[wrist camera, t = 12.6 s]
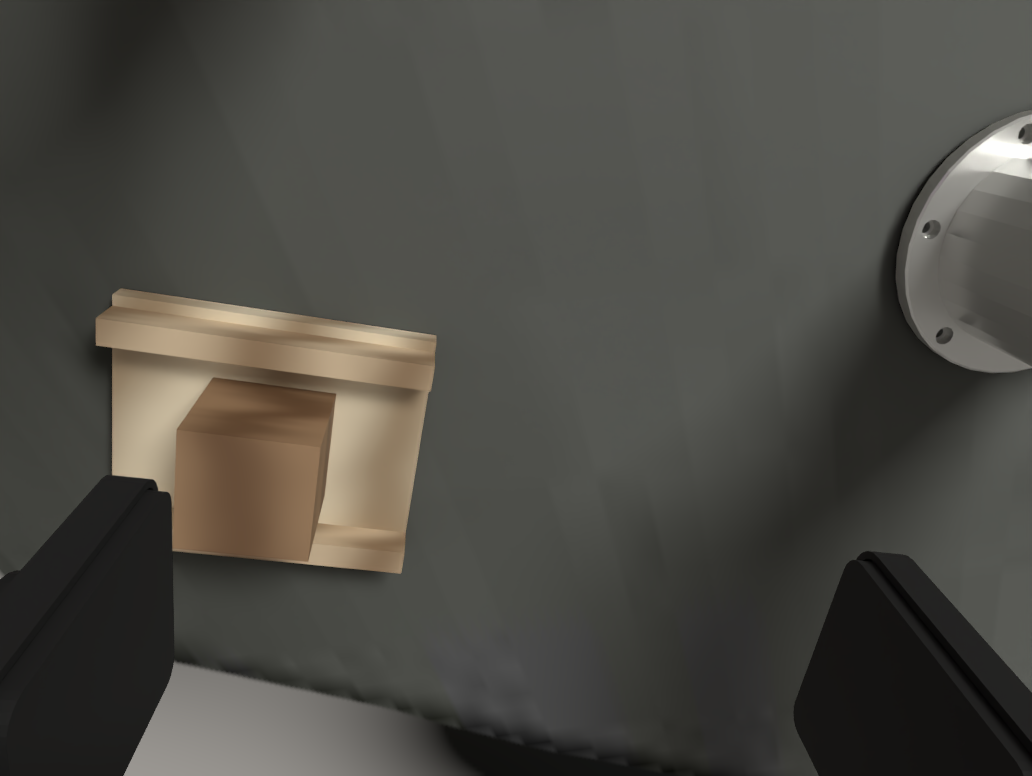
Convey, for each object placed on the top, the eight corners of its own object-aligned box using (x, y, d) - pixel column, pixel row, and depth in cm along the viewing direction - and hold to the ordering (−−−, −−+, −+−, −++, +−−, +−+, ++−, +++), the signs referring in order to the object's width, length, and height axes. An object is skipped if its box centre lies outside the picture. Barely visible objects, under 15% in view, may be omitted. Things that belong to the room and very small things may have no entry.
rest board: (436, 335, 37) (436, 356, 34) (401, 549, 41) (399, 581, 38) (120, 288, 34) (95, 306, 32) (119, 520, 39) (97, 552, 36)
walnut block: (336, 393, 36) (320, 447, 31) (324, 495, 38) (308, 561, 33) (213, 377, 35) (176, 429, 30) (207, 482, 37) (172, 548, 32)
